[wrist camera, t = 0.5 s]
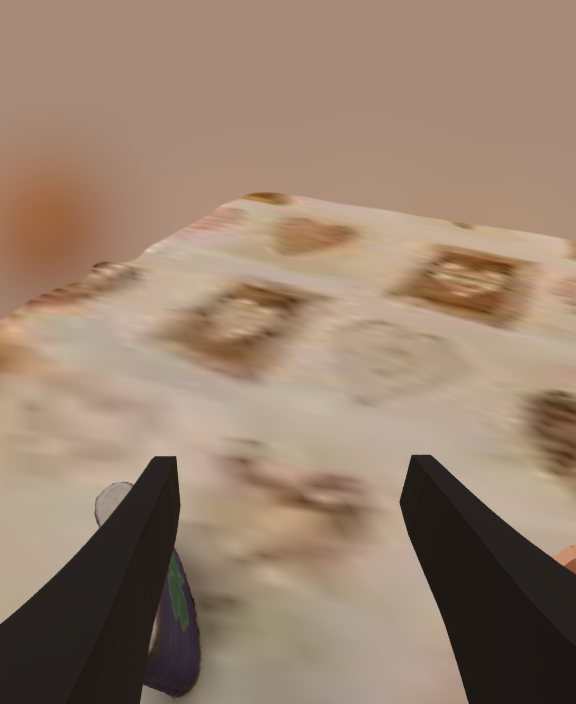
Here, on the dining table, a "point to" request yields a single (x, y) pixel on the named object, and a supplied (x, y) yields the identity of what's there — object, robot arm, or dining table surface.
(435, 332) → the dining table surface
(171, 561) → the flask
